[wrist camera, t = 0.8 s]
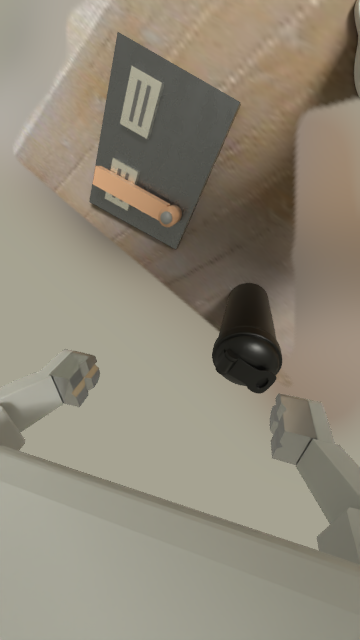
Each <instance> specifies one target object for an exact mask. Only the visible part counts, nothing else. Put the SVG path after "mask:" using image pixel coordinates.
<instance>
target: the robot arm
mask: <svg viewBox="0 0 360 640" xmlns="http://www.w3.org/2000/svg"><path fill="white" fill-rule="evenodd" d="M354 16H355V23H356V28H357V32H358V45H357V51H356V57H355V65H354V79H355V86H356V90H357V93H358V96H359V98H360V0H357V1H356V4H355V9H354ZM96 362H97V360H96V357H95V356H93V355H90V354H85V353H81V352H77V351H72V350H68V349H64V350H62V351H61V352H60V353H59V354H58V355H56V356H55V357H54V358H53V359H52V360H51V361H50V362H49V363H48V364H47V365H46V366H45V367H44V368H43V369H42V370H40V371H39V372H38V373H37V372H34V373H32V374H30V375H27V376H25V377H23V378H20V379H18V380H15V381H13V382H11V383H8V384H6V385H4V386H1V387H0V640H360V467H359V466H358V465H357V464H356V463H355V462H354V460H353V459H352V458H351V457H350V456H349V455H348V454H347V453H346V452H345V450H344V449H343V448H342V447H341V446H340V445H337V444H335V442H334V439H333V436H332V433H331V429H330V426H329V423H328V419H327V416H326V413H325V410H324V406H323V404H322V403H321V402H318V401H313V400H308V399H304V398H299V397H294V396H289V395H284V394H278V395H277V397H276V405H275V406H273V408H272V411H271V416H270V430H271V432H272V433H273V437H272V440H271V450H272V458H273V459H277V460H280V461H284V462H287V463H291V464H294V465H296V467H297V469H298V471H299V472H300V474H301V476H302V477H303V479H304V481H305V482H306V484H307V486H308V488H309V489H310V491H311V493H312V494H313V496H314V498H315V500H316V501H317V503H318V505H319V506H320V508H321V509H322V511H323V513H324V515H325V516H326V518H327V520H328V522H329V523H330V525H329V526H328V527H327V528H326V529H325V530H324V531H323V532H322V533H321V534H319V535H318V536H317V542H318V548H319V551H318V550H315V549H312V548H309V547H306V546H303V545H300V544H297V543H294V542H291V541H288V540H285V539H282V538H279V537H276V536H273V535H270V534H267V533H264V532H261V531H258V530H255V529H252V528H249V527H246V526H243V525H240V524H237V523H234V522H231V521H228V520H225V519H222V518H219V517H216V516H213V515H210V514H207V513H204V512H201V511H198V510H195V509H192V508H189V507H186V506H183V505H179V504H177V503H173V502H171V501H168V500H165V499H162V498H159V497H156V496H153V495H150V494H147V493H144V492H141V491H138V490H135V489H132V488H129V487H126V486H123V485H120V484H117V483H114V482H111V481H108V480H104V479H102V478H99V477H96V476H92V475H90V474H87V473H84V472H81V471H78V470H75V469H72V468H69V467H66V466H63V465H60V464H57V463H53V462H51V461H48V460H45V459H42V458H39V457H36V456H33V455H30V454H27V453H24V452H21V451H19V450H20V449H21V447H22V446H23V445H24V444H25V439H24V438H23V436H22V435H21V433H20V432H22V431H23V430H25V429H26V428H28V427H29V426H31V425H32V424H34V423H35V422H37V421H38V420H40V419H41V418H43V417H45V416H46V415H47V414H49V413H51V412H52V411H53V410H55V409H57V408H58V407H60V406H61V405H63V403H65V404H69V405H73V406H77V407H80V406H81V404H82V403H83V402H84V400H85V399H86V398H87V396H88V390H90V389H92V388H94V387H95V385H96V383H97V382H98V379H99V375H100V372H99V368H98V367H97V366H96V365H95V363H96Z"/></svg>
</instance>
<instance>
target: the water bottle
mask: <svg viewBox="0 0 360 640" xmlns="http://www.w3.org/2000/svg"><path fill="white" fill-rule="evenodd" d="M273 325H274V324H273V320H272V314H271V310H270V305H269V300H268V296H267V293H266V291H265V290H264V289H263V288H262V287H260V286H259V285H256V284H252V283H245V284H241V285H239V286H237V287H235V288H234V289H233V290H232V291H231V293H230V295H229V298H228V302H227V306H226V310H225V314H224V318H223V322H222V325H221V329H220V333H219V337H218V338H217V340H216V342H215V344H214V348H213V353H212V358H213V363H214V365H215V367H216V370H217V372H218V373H219V374H221V375H222V376H223V377H225V378H226V379H228V380H229V381H231V382H233V383H235V384H238V385H243V386H247V387H248V389H250V390H251V391H252V392H255V393H263V392H264V391H266V390H267V389H268V388H269V387H270V386H271V385H272V384H273V383H274V382H275V380H276V376H275V375H276V374H277V373H278V372H279V370H280V368H281V366H282V355H281V349H280V346H279V344H278V342H277V340H276V336H275V329H274V326H273Z"/></svg>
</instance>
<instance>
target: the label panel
mask: <svg viewBox="0 0 360 640" xmlns="http://www.w3.org/2000/svg"><path fill="white" fill-rule="evenodd" d="M240 105H241V104H240V102H239V101H237V100H235V99H234V98H232V97H230V96H228V95H227V94H225V93H223V92H221V91H220V90H218V89H216V88H214V87H213V86H211V85H209V84H207V83H206V82H204V81H202V80H200V79H199V78H197V77H195V76H194V75H192V74H190V73H188V72H187V71H185V70H183V69H181V68H180V67H178V66H176V65H174V64H173V63H171V62H169V61H167V60H166V59H164V58H162V57H160V56H159V55H157V54H155V53H154V52H152V51H150V50H148V49H147V48H145V47H143V46H141V45H140V44H138V43H136V42H134V41H133V40H131V39H129V38H127V37H126V36H124V35H122V34H121V33H119V32H118V33H117V40H116V46H115V52H114V58H113V64H112V70H111V76H110V82H109V88H108V94H107V100H106V106H105V112H104V118H103V124H102V130H101V136H100V142H99V148H98V154H97V160H96V166H102V167H104V168H106V169H108V170H110V171H111V172H113V173H115V174H117V175H119V176H121V177H122V178H124V179H126V180H128V181H130V182H131V183H133V184H135V185H137V186H139V187H140V188H142V189H144V190H146V191H148V192H149V193H151V194H153V195H155V196H157V197H158V198H160V199H162V200H164V201H166V202H167V203H169V204H170V205H177V206H178V207H179V208H180V209H181V211H182V217H181V219H180V221H179V222H177V223H176V224H174V225H173V226H171V227H164V226H163V225H161V223H160V222H159V221H158V220H157V219H155V218H153V217H151V216H149V215H148V214H146V213H144V212H142V211H140V210H138V209H137V208H135V207H133V206H131V205H129V204H128V203H126V202H124V201H122V200H120V199H119V198H117V197H115V196H113V195H111V194H109V193H108V192H106V191H104V190H102V189H100V188H99V187H97V186H95V185H93V184H92V190H91V196H90V203H92V204H94V205H96V206H98V207H100V208H101V209H103V210H105V211H107V212H109V213H110V214H112V215H114V216H116V217H118V218H120V219H121V220H123V221H125V222H127V223H129V224H131V225H132V226H134V227H136V228H138V229H140V230H141V231H143V232H145V233H147V234H149V235H151V236H152V237H154V238H156V239H158V240H160V241H161V242H163V243H165V244H167V245H169V246H171V247H172V248H174V249H177V248H178V246H179V243H180V241H181V239H182V237H183V234H184V232H185V230H186V228H187V225H188V223H189V221H190V218H191V216H192V214H193V212H194V209H195V207H196V205H197V203H198V200H199V198H200V196H201V194H202V191H203V189H204V187H205V184H206V182H207V180H208V178H209V175H210V173H211V171H212V169H213V166H214V164H215V162H216V160H217V157H218V155H219V153H220V151H221V148H222V146H223V144H224V141H225V139H226V137H227V135H228V132H229V130H230V128H231V126H232V123H233V121H234V119H235V117H236V114H237V112H238V110H239V107H240ZM96 166H95V167H96ZM94 173H95V172H94ZM93 179H94V178H93Z"/></svg>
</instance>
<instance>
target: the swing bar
mask: <svg viewBox="0 0 360 640" xmlns="http://www.w3.org/2000/svg"><path fill="white" fill-rule="evenodd" d="M93 185H95V186H97V187H99V188H100V189H102V190H104V191H106V192H108V193H109V194H111V195H113V196H115V197H117V198H119V199H120V200H122V201H124V202H126V203H128V204H129V205H131V206H133V207H135V208H137V209H138V210H140V211H142V212H144V213H146V214H148V215H149V216H151V217H153V218H155V219H157V220H158V221H159V222H160V223H161V225H163V226H164V227H171V226H173V225H174V224H176V223H177V222H179V221H180V219H181V217H182V211H181V209H180V208H179V207H178V206H177V205H170V204H169V203H167V202H166V201H164V200H162V199H160V198H158V197H157V196H155V195H153V194H151V193H149V192H148V191H146V190H144V189H142V188H140V187H139V186H137V185H135V184H133V183H131V182H130V181H128V180H126V179H124V178H122V177H121V176H119V175H117V174H115V173H113V172H111V171H110V170H108V169H106V168H104V167H102V166H96V167H95V173H94V179H93Z"/></svg>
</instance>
